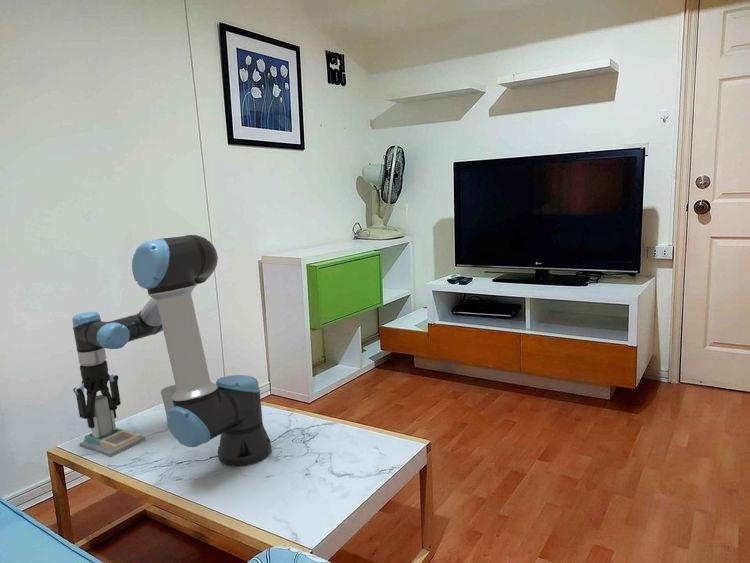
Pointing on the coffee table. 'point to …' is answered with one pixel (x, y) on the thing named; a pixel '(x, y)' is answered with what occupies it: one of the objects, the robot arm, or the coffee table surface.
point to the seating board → (112, 442)
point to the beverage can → (103, 415)
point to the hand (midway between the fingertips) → (104, 432)
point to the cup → (168, 397)
